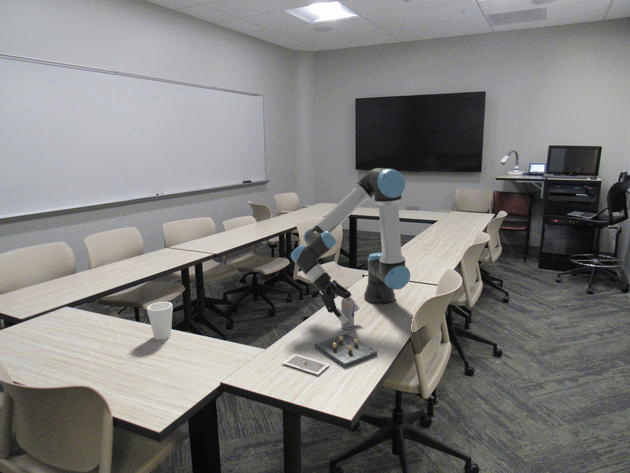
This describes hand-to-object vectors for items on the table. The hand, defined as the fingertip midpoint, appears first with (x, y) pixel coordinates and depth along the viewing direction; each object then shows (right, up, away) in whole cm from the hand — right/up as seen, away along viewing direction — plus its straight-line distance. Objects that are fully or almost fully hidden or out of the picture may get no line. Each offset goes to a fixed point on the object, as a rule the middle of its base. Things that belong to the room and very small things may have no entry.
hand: (352, 316), depth 173 cm
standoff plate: (-4, -9, -19) cm, 21 cm away
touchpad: (-19, -12, -28) cm, 36 cm away
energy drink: (-2, -5, +2) cm, 6 cm away
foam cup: (-77, -8, -4) cm, 77 cm away
